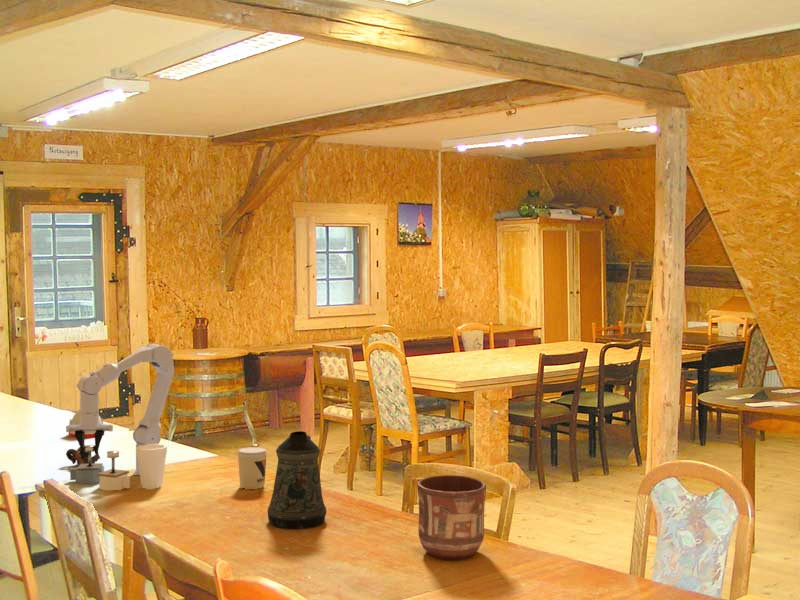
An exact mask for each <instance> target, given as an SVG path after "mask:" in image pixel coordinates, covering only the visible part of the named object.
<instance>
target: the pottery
mask: <svg viewBox="0 0 800 600" xmlns="http://www.w3.org/2000/svg"><path fill="white" fill-rule="evenodd" d="M416 486H417V488H416V489H417V495H418V496H417V497H418V526H417V527H418V529H417V530H418V538H419V541H420V544H421V545H422V548H423V550H424V551H426V552H427V553H428V555H430V556H431V557H433V558H436V559H440V560H447V561H458V560H459V559H461V560H464V559H469V558H471V557H473V555H474V554H476V553H477V551H479V549H480V547H481V546H482V543H483V541H484V538H485V502H486V501H485V500H486V493H487V485H486V483H485V482H484V481H482V480H480V479H478V478H475V477H471V476H465V475H457V474H456V475H453V474H450V475H449V474H443V475H432V476H426V477H424V478H422V479H419V480H418V481H417V485H416Z"/></svg>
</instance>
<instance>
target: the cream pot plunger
mask: <svg viewBox="0 0 800 600" xmlns="http://www.w3.org/2000/svg"><path fill="white" fill-rule="evenodd" d="M106 456H107V457H106V458H108V459H111V469H112V473H115V469H116V467H115V466H116V465H115V464H116V463H115V459H116V458H119V457H120V451H119V450H109V451H107V452H106Z"/></svg>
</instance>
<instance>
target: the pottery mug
mask: <svg viewBox="0 0 800 600" xmlns="http://www.w3.org/2000/svg"><path fill="white" fill-rule="evenodd" d="M85 446H86V444H85ZM65 455H66V459H68V461H71V463H72V464H73V465H74V464H76V465H77V467H79V465H80V464H88V452H85V453H84V454H81V449H80V446H79V447H78V448H77V449H74V448H70V449H67V451H66V453H65ZM100 459H101V456H100V454H99V452H98V453H97V454H95V453H94V455H93V456H91V464H96V462H98V461H99V460H100Z"/></svg>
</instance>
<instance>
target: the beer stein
mask: <svg viewBox="0 0 800 600" xmlns="http://www.w3.org/2000/svg"><path fill="white" fill-rule="evenodd" d="M275 452H276V456H277V465H276V472H275V477H274V484H273V490H272V494H271V495H272V496H271V499H270V502H269V505H268V507H267V519H268V522H269V525H270V526H272V527H275V528H277V529H284V530H296V531H297V530H308V529H313V528H317V527H319V526H323V525H324V522H325V521H326V515H327V507H326V505H325V501H324V499H323V498H324V497H323V492H322V483H321V474H320V467H319V462H318V461H319V460H318V459H319V457H320V454H321V449H320V448H319V446H318V445H317V444H316V443H314V441H312V440H311V436H309V435H308V434H307V432H306V431H303V430H302V431H292V432H290V433H289V437H288V438H286V439H285V440H284V441H282V443H281V444H280V445H278V446H277V448H276V451H275Z"/></svg>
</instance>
